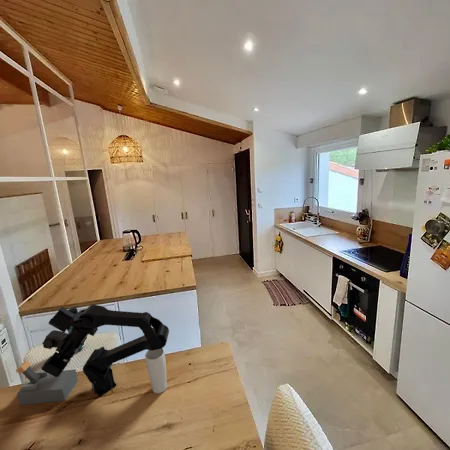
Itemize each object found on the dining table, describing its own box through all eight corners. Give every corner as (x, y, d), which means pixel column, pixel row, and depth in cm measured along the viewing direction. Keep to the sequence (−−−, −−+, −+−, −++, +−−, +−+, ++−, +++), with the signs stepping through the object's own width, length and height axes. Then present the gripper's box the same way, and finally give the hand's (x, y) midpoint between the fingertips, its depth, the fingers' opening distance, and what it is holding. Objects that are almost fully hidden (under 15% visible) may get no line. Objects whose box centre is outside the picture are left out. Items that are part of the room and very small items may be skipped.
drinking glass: (172, 385, 93) (168, 350, 90) (159, 399, 88) (153, 362, 85) (160, 378, 97) (155, 344, 94) (146, 391, 91) (140, 355, 88)
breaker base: (78, 380, 98) (75, 366, 97) (65, 400, 89) (61, 385, 88) (37, 384, 97) (33, 369, 96) (20, 405, 88) (16, 389, 87)
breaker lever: (42, 375, 93) (27, 360, 92) (36, 382, 90) (21, 366, 89) (37, 378, 93) (22, 363, 92) (31, 386, 90) (15, 370, 89)
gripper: (70, 310, 97) (50, 340, 99) (38, 342, 79) (14, 378, 81) (96, 325, 99) (76, 353, 101) (70, 359, 81) (46, 393, 83)
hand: (55, 367), depth 91 cm, fingers closed
